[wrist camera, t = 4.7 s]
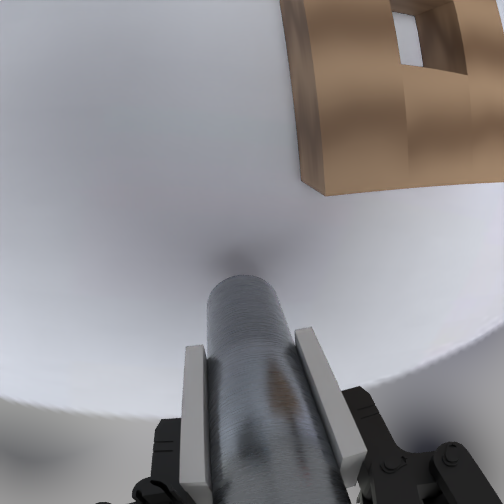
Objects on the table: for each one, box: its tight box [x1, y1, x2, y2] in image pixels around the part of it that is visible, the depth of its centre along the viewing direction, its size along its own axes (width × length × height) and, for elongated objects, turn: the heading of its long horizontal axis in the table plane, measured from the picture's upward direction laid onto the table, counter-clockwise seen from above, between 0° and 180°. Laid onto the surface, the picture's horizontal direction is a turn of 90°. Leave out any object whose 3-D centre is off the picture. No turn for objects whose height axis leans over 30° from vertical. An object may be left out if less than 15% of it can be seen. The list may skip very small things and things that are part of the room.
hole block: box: [280, 0, 504, 196], centre depth 15 cm, size 20×16×5 cm
